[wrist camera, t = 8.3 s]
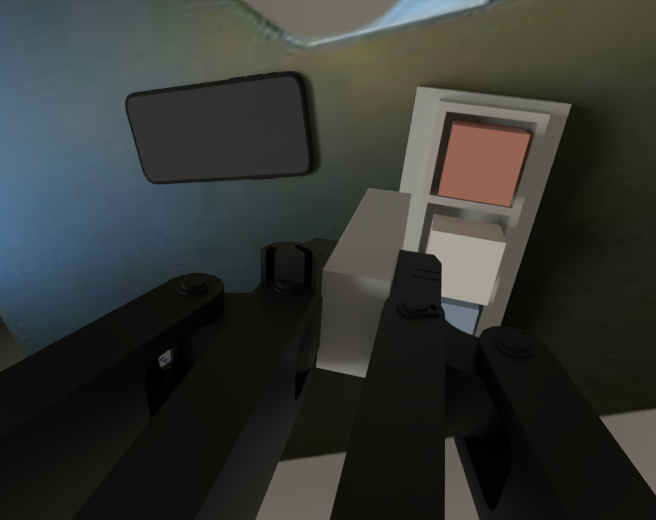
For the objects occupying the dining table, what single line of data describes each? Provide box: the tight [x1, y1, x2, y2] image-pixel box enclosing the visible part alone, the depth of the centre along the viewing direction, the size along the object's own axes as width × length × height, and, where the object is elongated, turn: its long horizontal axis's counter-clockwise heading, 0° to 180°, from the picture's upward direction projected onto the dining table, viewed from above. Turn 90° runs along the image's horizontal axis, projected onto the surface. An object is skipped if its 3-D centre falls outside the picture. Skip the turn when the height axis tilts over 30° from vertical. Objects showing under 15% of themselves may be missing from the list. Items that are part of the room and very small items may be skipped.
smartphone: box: [125, 71, 314, 184], centre depth 33 cm, size 7×1×15 cm
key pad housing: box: [399, 86, 571, 337], centre depth 30 cm, size 18×9×4 cm, turn 174°
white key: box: [426, 214, 506, 306], centre depth 26 cm, size 4×4×3 cm
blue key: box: [441, 296, 479, 335], centre depth 30 cm, size 4×4×3 cm
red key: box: [438, 119, 530, 206], centre depth 25 cm, size 4×4×3 cm
